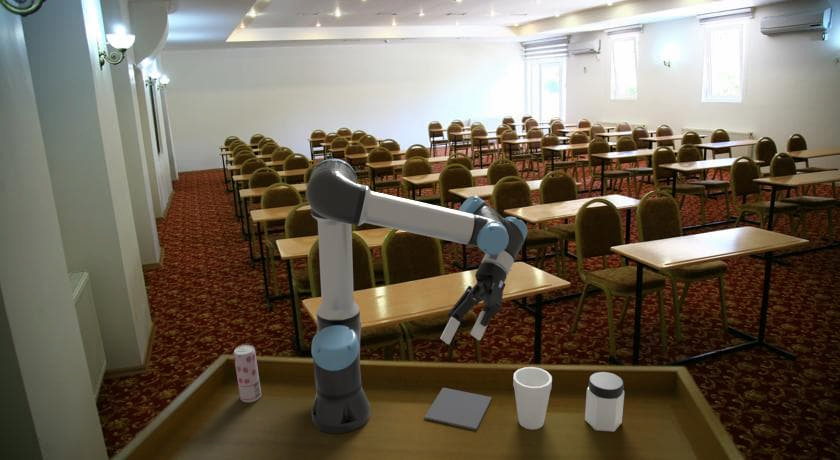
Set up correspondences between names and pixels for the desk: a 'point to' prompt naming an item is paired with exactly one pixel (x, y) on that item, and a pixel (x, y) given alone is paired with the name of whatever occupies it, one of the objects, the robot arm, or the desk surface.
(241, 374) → the beverage can
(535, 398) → the foam cup
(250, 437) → the desk surface
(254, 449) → the desk surface
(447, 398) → the charcoal mat
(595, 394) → the jar
